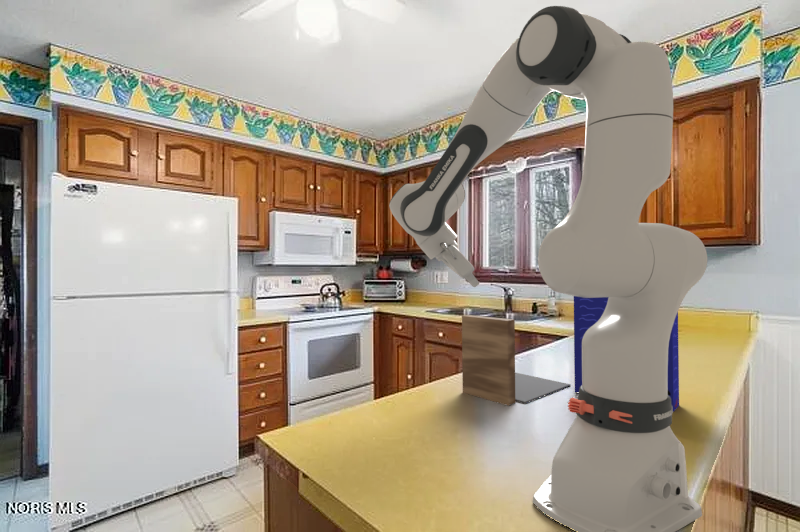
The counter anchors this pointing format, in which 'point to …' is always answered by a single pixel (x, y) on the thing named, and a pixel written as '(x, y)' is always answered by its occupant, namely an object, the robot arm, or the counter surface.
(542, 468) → the counter surface
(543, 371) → the counter surface
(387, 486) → the counter surface
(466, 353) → the board
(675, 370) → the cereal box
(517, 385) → the mat
